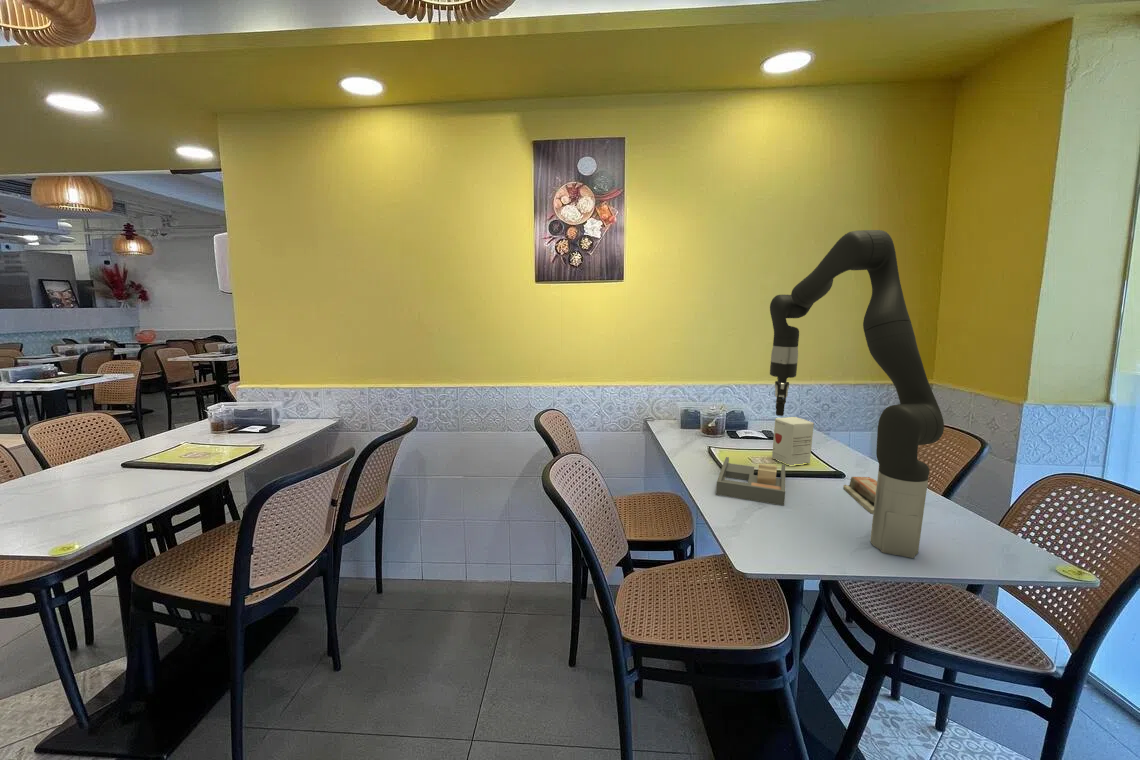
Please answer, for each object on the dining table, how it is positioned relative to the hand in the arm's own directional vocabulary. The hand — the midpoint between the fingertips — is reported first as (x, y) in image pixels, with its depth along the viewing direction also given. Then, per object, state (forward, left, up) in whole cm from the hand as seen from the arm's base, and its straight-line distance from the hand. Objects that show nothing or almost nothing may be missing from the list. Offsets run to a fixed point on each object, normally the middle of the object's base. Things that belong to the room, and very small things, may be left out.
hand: (779, 412), depth 152 cm
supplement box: (+18, -5, -21) cm, 28 cm away
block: (-11, +2, -19) cm, 22 cm away
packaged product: (-9, -26, -22) cm, 35 cm away
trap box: (-11, +6, -21) cm, 24 cm away
